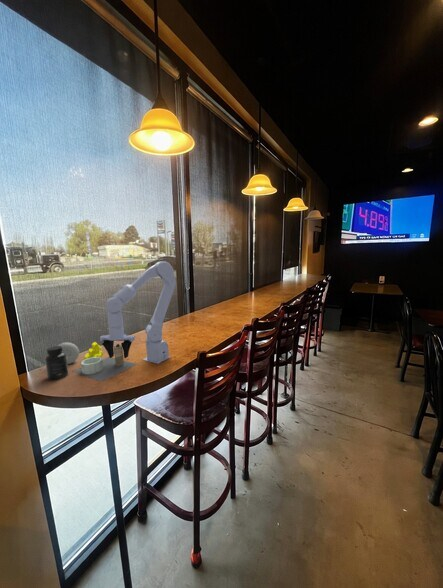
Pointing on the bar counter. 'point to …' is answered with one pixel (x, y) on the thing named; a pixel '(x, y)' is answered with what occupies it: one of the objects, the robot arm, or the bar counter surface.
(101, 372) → the mat
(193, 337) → the bar counter surface
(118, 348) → the peg
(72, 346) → the grey round disc
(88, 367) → the jar
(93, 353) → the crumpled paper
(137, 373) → the bar counter surface
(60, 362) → the supplement bottle
